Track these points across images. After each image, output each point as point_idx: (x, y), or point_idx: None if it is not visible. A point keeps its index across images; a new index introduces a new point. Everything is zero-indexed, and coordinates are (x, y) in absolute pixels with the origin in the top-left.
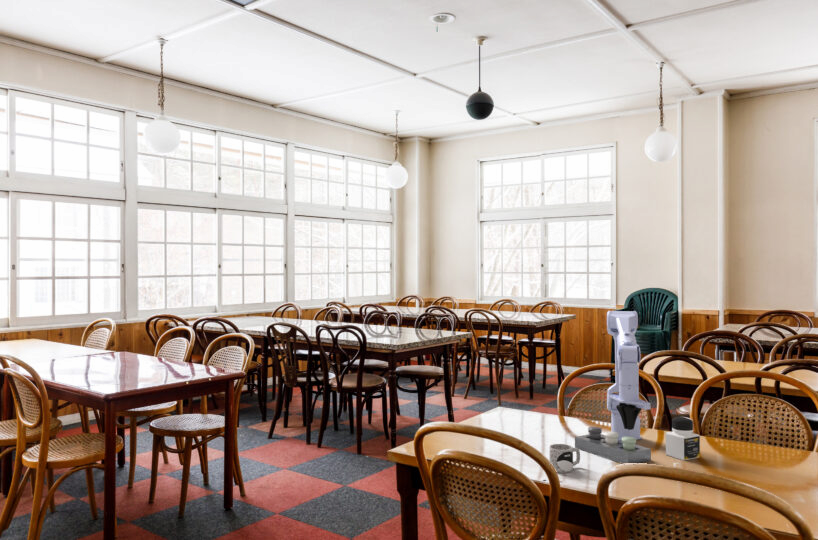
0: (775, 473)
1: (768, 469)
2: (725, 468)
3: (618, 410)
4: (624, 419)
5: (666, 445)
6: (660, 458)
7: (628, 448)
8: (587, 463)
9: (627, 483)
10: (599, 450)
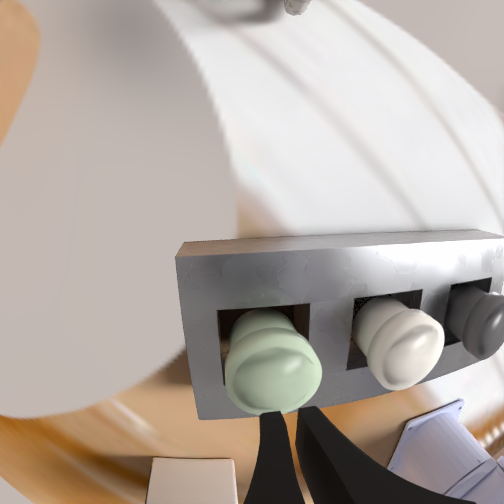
0: (34, 484)
1: (57, 497)
2: (68, 465)
3: (436, 499)
4: (330, 464)
5: (229, 484)
6: (208, 426)
7: (243, 327)
8: (311, 89)
9: (29, 73)
10: (383, 237)
